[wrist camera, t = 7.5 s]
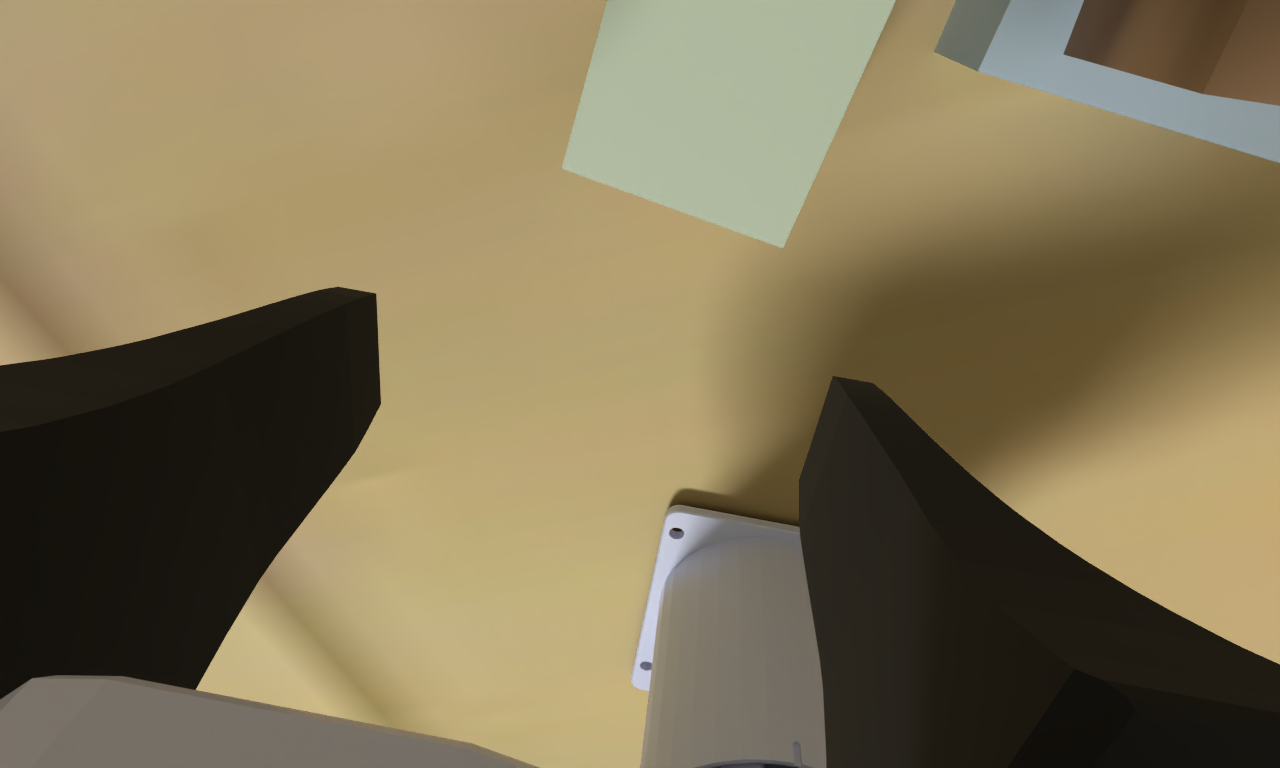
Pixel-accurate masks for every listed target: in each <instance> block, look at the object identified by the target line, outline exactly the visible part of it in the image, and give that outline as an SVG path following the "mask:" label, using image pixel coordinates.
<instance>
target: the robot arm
mask: <svg viewBox="0 0 1280 768" xmlns="http://www.w3.org/2000/svg"><path fill="white" fill-rule="evenodd" d="M380 405H381V397H380V373H379V349H378V325H377V301H376V294H375V293H369V292H364V291H358V290H353V289H347V288H342V287H334V288H328V289H323V290H318V291H314V292H310V293H307V294H303V295H299V296H296V297H292V298H289V299H286V300H282V301H279V302H276V303H272V304H269V305H266V306H263V307H259V308H256V309H253V310H249V311H246V312H243V313H240V314H236V315H233V316H230V317H227V318H223V319H220V320H217V321H213V322H209V323H205V324H202V325H198V326H194V327H191V328H187V329H183V330H180V331H176V332H172V333H169V334H165V335H161V336H158V337H154V338H150V339H146V340H142V341H138V342H133V343H129V344H124V345H120V346H115V347H111V348H106V349H101V350H95V351H90V352H85V353H80V354H75V355H69V356H64V357H58V358H52V359H46V360H38V361H31V362H23V363H16V364H8V365H1V366H0V768H539V767H536V766H533V765H531V764H528V763H525V762H522V761H519V760H517V759H514V758H511V757H508V756H506V755H503V754H500V753H497V752H494V751H492V750H489V749H486V748H483V747H481V746H478V745H475V744H472V743H467V742H462V741H457V740H452V739H447V738H441V737H436V736H431V735H426V734H421V733H415V732H410V731H405V730H400V729H395V728H389V727H384V726H379V725H374V724H369V723H363V722H358V721H353V720H348V719H343V718H337V717H332V716H327V715H322V714H317V713H311V712H306V711H301V710H296V709H291V708H286V707H280V706H275V705H270V704H265V703H260V702H254V701H249V700H244V699H239V698H234V697H228V696H223V695H218V694H213V693H208V692H202V691H197V690H196V688H197V686H198V684H199V682H200V681H201V679H202V677H203V675H204V674H205V672H206V670H207V668H208V666H209V665H210V663H211V661H212V659H213V658H214V656H215V654H216V652H217V650H218V649H219V647H220V645H221V643H222V642H223V640H224V638H225V636H226V634H227V633H228V631H229V630H230V628H231V626H232V625H233V623H234V621H235V620H236V618H237V616H238V615H239V613H240V611H241V610H242V608H243V606H244V605H245V603H246V601H247V600H248V598H249V596H250V595H251V593H252V591H253V590H254V588H255V586H256V585H257V583H258V581H259V580H260V578H261V577H262V575H263V574H264V573H265V571H266V570H267V568H268V567H269V565H270V564H271V563H272V561H273V560H274V558H275V557H276V555H277V554H278V553H279V551H280V550H281V549H282V548H283V546H284V545H285V544H286V542H287V541H288V540H289V538H290V537H291V536H292V535H293V533H294V532H295V531H296V529H297V528H298V527H299V525H300V524H301V523H302V522H303V520H304V519H305V518H306V516H307V515H308V514H309V512H310V511H311V510H312V509H313V507H314V506H315V505H316V503H317V502H318V501H319V499H320V498H321V497H322V496H323V494H324V493H325V492H326V490H327V489H328V488H329V486H330V485H331V484H332V482H333V481H334V480H335V478H336V477H337V476H338V474H339V473H340V472H341V470H342V469H343V468H344V466H345V465H346V464H347V462H348V461H349V460H350V458H351V457H352V455H353V454H354V453H355V451H356V449H357V448H358V446H359V444H360V442H361V441H362V439H363V437H364V435H365V433H366V432H367V430H368V428H369V426H370V424H371V422H372V420H373V418H374V416H375V414H376V412H377V410H378V408H379V407H380ZM799 521H800V527H797V526H792V525H787V524H781V523H776V522H771V521H765V520H760V519H754V518H749V517H744V516H738V515H733V514H728V513H722V512H717V511H711V510H706V509H701V508H695V507H690V506H685V505H675V506H671V507H670V508H669V509H668V510H667V512H666V514H665V519H664V523H663V528H662V533H661V537H660V542H659V547H658V552H657V556H656V561H655V566H654V570H653V575H652V580H651V585H650V589H649V594H648V599H647V603H646V608H645V613H644V618H643V622H642V627H641V632H640V637H639V641H638V646H637V651H636V655H635V660H634V665H633V670H632V675H631V683H632V684H633V686H635V687H636V688H638V689H641V690H646V691H649V696H648V705H647V713H646V722H645V731H644V739H643V748H642V756H641V765H640V768H1280V665H1279V664H1277V663H1275V662H1273V661H1271V660H1268V659H1266V658H1264V657H1262V656H1260V655H1257V654H1255V653H1253V652H1251V651H1248V650H1246V649H1244V648H1242V647H1240V646H1238V645H1236V644H1234V643H1232V642H1230V641H1228V640H1226V639H1224V638H1222V637H1220V636H1218V635H1216V634H1214V633H1212V632H1210V631H1209V630H1207V629H1205V628H1203V627H1201V626H1199V625H1197V624H1195V623H1193V622H1191V621H1189V620H1187V619H1185V618H1183V617H1181V616H1180V615H1178V614H1176V613H1174V612H1172V611H1170V610H1168V609H1167V608H1165V607H1163V606H1161V605H1159V604H1158V603H1156V602H1154V601H1152V600H1150V599H1149V598H1147V597H1145V596H1143V595H1141V594H1140V593H1138V592H1136V591H1134V590H1133V589H1131V588H1129V587H1128V586H1126V585H1124V584H1123V583H1121V582H1120V581H1118V580H1116V579H1115V578H1113V577H1111V576H1110V575H1108V574H1106V573H1105V572H1103V571H1102V570H1100V569H1098V568H1097V567H1095V566H1093V565H1092V564H1090V563H1088V562H1087V561H1085V560H1084V559H1082V558H1081V557H1079V556H1078V555H1076V554H1075V553H1073V552H1072V551H1070V550H1069V549H1067V548H1065V547H1064V546H1062V545H1061V544H1060V543H1058V542H1057V541H1055V540H1054V539H1053V538H1051V537H1050V536H1048V535H1047V534H1046V533H1044V532H1043V531H1041V530H1040V529H1039V528H1037V527H1036V526H1035V525H1033V524H1032V523H1030V522H1029V521H1028V520H1026V519H1025V518H1023V517H1022V516H1021V515H1019V514H1018V513H1017V512H1015V511H1014V510H1013V509H1012V508H1010V507H1009V506H1008V505H1006V504H1005V503H1004V502H1003V501H1001V500H1000V499H999V498H998V497H997V496H995V495H994V494H993V493H992V492H991V491H989V490H988V489H987V488H986V487H985V486H984V485H982V484H981V483H980V482H979V481H978V480H976V479H975V478H974V477H973V476H972V475H971V474H969V473H968V472H967V471H966V470H965V469H964V468H963V467H962V466H960V465H959V464H958V463H957V462H956V461H955V460H954V459H953V458H952V457H951V456H950V455H948V454H947V453H946V452H945V451H944V450H943V449H942V448H941V447H940V446H939V445H938V444H937V443H936V442H935V441H934V440H933V439H932V438H930V437H929V436H928V435H927V434H926V433H925V432H924V431H923V430H922V429H921V428H920V427H919V426H918V425H917V424H916V423H915V422H914V421H913V420H912V419H911V418H910V417H909V416H908V415H907V414H906V413H905V412H904V411H903V410H902V409H901V408H900V407H899V406H898V405H897V404H896V403H895V402H894V401H893V400H892V399H890V398H889V397H888V396H887V395H886V394H885V393H884V392H883V391H882V390H881V389H879V388H878V387H877V386H876V385H874V384H873V383H869V382H863V381H857V380H852V379H846V378H841V377H835V376H833V378H832V381H831V384H830V387H829V390H828V393H827V397H826V400H825V403H824V406H823V409H822V412H821V415H820V418H819V421H818V424H817V427H816V430H815V434H814V437H813V440H812V443H811V446H810V449H809V452H808V455H807V458H806V461H805V464H804V467H803V471H802V474H801V477H800V480H799ZM672 528H680V529H682V531H680V532H676V531H673V530H672Z"/></svg>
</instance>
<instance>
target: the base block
mask: <svg viewBox="0 0 1280 768" xmlns="http://www.w3.org/2000/svg"><path fill="white" fill-rule="evenodd" d="M1083 2H1084V0H956V2H955V4H954V6H953V9H952V11H951V13H950V16H949V18H948V20H947V23H946V25H945V27H944V30H943V32H942V34H941V37H940V39H939V41H938V44H937V46H936V48H935V51H934V52H936V53H938V54H940V55H942V56H945V57H947V58H949V59H951V60H953V61H956V62H958V63H960V64H962V65H965V66H967V67H969V68H971V69H973V70H976V71H978V72H981V73H985V74H988V75H991V76H994V77H998V78H1001V79H1004V80H1008V81H1011V82H1014V83H1018V84H1021V85H1024V86H1027V87H1031V88H1034V89H1037V90H1041V91H1044V92H1047V93H1050V94H1054V95H1057V96H1060V97H1064V98H1067V99H1070V100H1074V101H1077V102H1080V103H1083V104H1087V105H1090V106H1093V107H1097V108H1100V109H1103V110H1107V111H1110V112H1113V113H1116V114H1120V115H1123V116H1126V117H1130V118H1133V119H1136V120H1139V121H1143V122H1146V123H1149V124H1153V125H1156V126H1159V127H1163V128H1166V129H1169V130H1172V131H1176V132H1179V133H1182V134H1186V135H1189V136H1192V137H1196V138H1199V139H1202V140H1205V141H1209V142H1212V143H1215V144H1219V145H1222V146H1225V147H1228V148H1232V149H1235V150H1238V151H1242V152H1245V153H1248V154H1252V155H1255V156H1258V157H1261V158H1265V159H1268V160H1271V161H1275V162H1278V163H1280V106H1277V105H1271V104H1264V103H1258V102H1251V101H1245V100H1238V99H1232V98H1225V97H1219V96H1212V95H1205V94H1201V93H1197V92H1194V91H1190V90H1186V89H1183V88H1179V87H1176V86H1172V85H1169V84H1165V83H1162V82H1158V81H1155V80H1151V79H1148V78H1144V77H1141V76H1137V75H1134V74H1130V73H1127V72H1123V71H1120V70H1116V69H1113V68H1109V67H1106V66H1102V65H1099V64H1095V63H1092V62H1088V61H1085V60H1081V59H1077V58H1074V57H1070V56H1067V55H1063V53H1064V51H1065V48H1066V46H1067V43H1068V40H1069V38H1070V35H1071V33H1072V30H1073V28H1074V25H1075V22H1076V20H1077V17H1078V15H1079V12H1080V10H1081V7H1082V4H1083Z"/></svg>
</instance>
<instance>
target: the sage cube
mask: <svg viewBox="0 0 1280 768" xmlns="http://www.w3.org/2000/svg"><path fill="white" fill-rule="evenodd" d="M895 1H896V0H607V4H606V8H605V11H604V15H603V19H602V22H601V26H600V30H599V33H598V37H597V41H596V44H595V48H594V52H593V55H592V59H591V63H590V66H589V70H588V74H587V77H586V81H585V85H584V88H583V92H582V96H581V100H580V103H579V107H578V111H577V114H576V118H575V122H574V125H573V129H572V133H571V136H570V140H569V144H568V147H567V151H566V155H565V158H564V162H563V166H562V169H564V170H567V171H570V172H573V173H575V174H578V175H581V176H584V177H586V178H589V179H592V180H595V181H598V182H600V183H603V184H606V185H609V186H611V187H614V188H617V189H620V190H622V191H625V192H628V193H631V194H633V195H636V196H639V197H642V198H644V199H647V200H650V201H653V202H656V203H658V204H661V205H664V206H667V207H669V208H672V209H675V210H678V211H680V212H683V213H686V214H689V215H691V216H694V217H697V218H700V219H702V220H705V221H708V222H711V223H714V224H716V225H719V226H722V227H725V228H727V229H730V230H733V231H736V232H738V233H741V234H744V235H747V236H749V237H752V238H755V239H758V240H760V241H763V242H766V243H769V244H772V245H774V246H777V247H780V248H783V247H784V245H785V243H786V241H787V238H788V236H789V234H790V232H791V230H792V227H793V225H794V223H795V221H796V219H797V216H798V214H799V212H800V210H801V208H802V205H803V203H804V201H805V199H806V197H807V195H808V192H809V190H810V188H811V186H812V184H813V181H814V179H815V177H816V175H817V173H818V170H819V168H820V166H821V164H822V162H823V159H824V157H825V155H826V153H827V151H828V148H829V146H830V144H831V142H832V140H833V137H834V135H835V133H836V131H837V129H838V126H839V124H840V122H841V120H842V118H843V115H844V113H845V111H846V109H847V107H848V104H849V102H850V100H851V98H852V96H853V94H854V91H855V89H856V87H857V85H858V83H859V80H860V78H861V76H862V74H863V72H864V69H865V67H866V65H867V63H868V61H869V58H870V56H871V54H872V52H873V50H874V47H875V45H876V43H877V41H878V39H879V36H880V34H881V32H882V30H883V28H884V25H885V23H886V21H887V19H888V17H889V14H890V12H891V10H892V8H893V6H894V3H895Z"/></svg>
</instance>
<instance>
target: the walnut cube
mask: <svg viewBox="0 0 1280 768" xmlns="http://www.w3.org/2000/svg"><path fill="white" fill-rule="evenodd" d="M1063 55H1067V56H1070V57H1074V58H1077V59H1081V60H1085V61H1088V62H1092V63H1095V64H1099V65H1102V66H1106V67H1109V68H1113V69H1116V70H1120V71H1123V72H1127V73H1130V74H1134V75H1137V76H1141V77H1144V78H1148V79H1151V80H1155V81H1158V82H1162V83H1165V84H1169V85H1172V86H1176V87H1179V88H1183V89H1186V90H1190V91H1194V92H1197V93H1201V94H1205V95H1212V96H1219V97H1225V98H1232V99H1238V100H1245V101H1251V102H1258V103H1264V104H1271V105H1277V106H1280V0H1084V2H1083V4H1082V7H1081V10H1080V12H1079V15H1078V17H1077V20H1076V22H1075V25H1074V28H1073V30H1072V33H1071V35H1070V38H1069V40H1068V43H1067V46H1066V48H1065V51H1064V53H1063Z"/></svg>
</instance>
